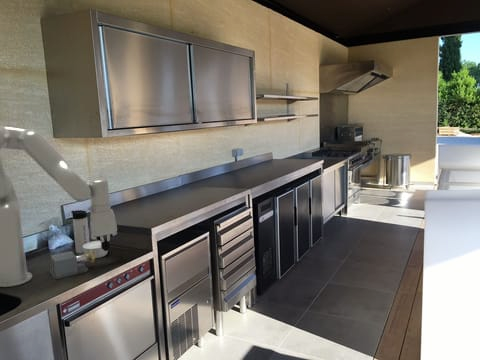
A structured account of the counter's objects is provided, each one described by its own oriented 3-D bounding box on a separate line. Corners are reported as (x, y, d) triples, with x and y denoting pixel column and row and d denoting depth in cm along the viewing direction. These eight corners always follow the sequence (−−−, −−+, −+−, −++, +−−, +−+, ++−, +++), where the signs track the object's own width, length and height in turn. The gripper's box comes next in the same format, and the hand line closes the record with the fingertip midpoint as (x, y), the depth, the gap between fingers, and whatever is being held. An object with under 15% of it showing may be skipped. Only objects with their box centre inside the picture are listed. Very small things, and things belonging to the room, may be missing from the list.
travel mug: (76, 250, 195) (72, 209, 192) (91, 249, 197) (87, 208, 193) (74, 255, 189) (69, 212, 186) (89, 253, 190) (85, 211, 187)
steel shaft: (66, 270, 166) (64, 258, 165) (63, 266, 170) (62, 254, 169) (95, 263, 172) (94, 252, 171) (92, 260, 176) (90, 248, 175)
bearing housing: (54, 279, 162) (52, 262, 161) (50, 272, 169) (48, 255, 168) (88, 271, 169) (86, 254, 168) (83, 265, 176) (81, 249, 175)
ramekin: (92, 261, 181) (91, 249, 180) (78, 256, 187) (77, 245, 187) (114, 254, 190) (113, 242, 189) (99, 249, 196) (98, 239, 195)
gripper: (84, 213, 166) (90, 256, 169) (121, 206, 174) (125, 248, 177) (80, 209, 172) (85, 251, 175) (116, 203, 180) (120, 244, 183)
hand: (105, 250), depth 176 cm, fingers closed
